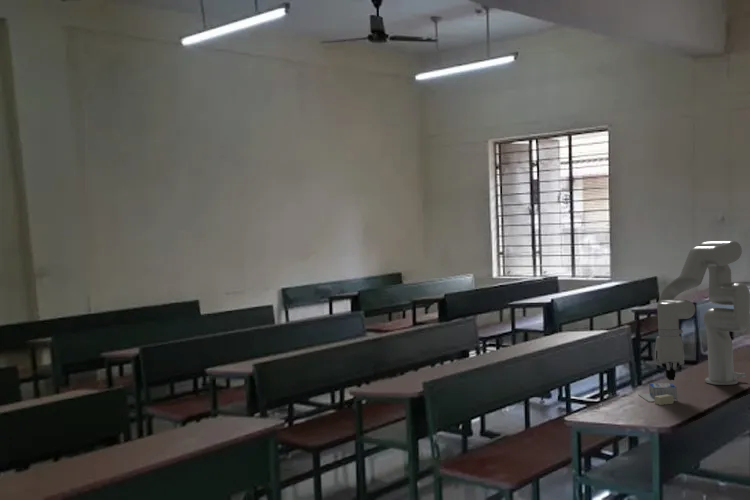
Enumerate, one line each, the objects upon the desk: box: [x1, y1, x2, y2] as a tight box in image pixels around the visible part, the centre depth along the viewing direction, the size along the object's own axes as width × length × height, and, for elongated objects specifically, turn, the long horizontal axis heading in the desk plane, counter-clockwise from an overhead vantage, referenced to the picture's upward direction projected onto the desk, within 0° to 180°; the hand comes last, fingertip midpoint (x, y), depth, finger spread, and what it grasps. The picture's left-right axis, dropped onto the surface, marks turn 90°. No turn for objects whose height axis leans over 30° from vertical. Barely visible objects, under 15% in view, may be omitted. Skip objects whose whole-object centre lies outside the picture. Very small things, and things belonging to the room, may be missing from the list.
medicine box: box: [648, 382, 678, 399], centre depth 281 cm, size 8×4×9 cm
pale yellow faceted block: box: [654, 394, 674, 406], centre depth 272 cm, size 6×3×3 cm, turn 108°
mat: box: [638, 393, 678, 403], centre depth 280 cm, size 11×12×1 cm
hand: (670, 379), depth 280 cm, fingers closed
